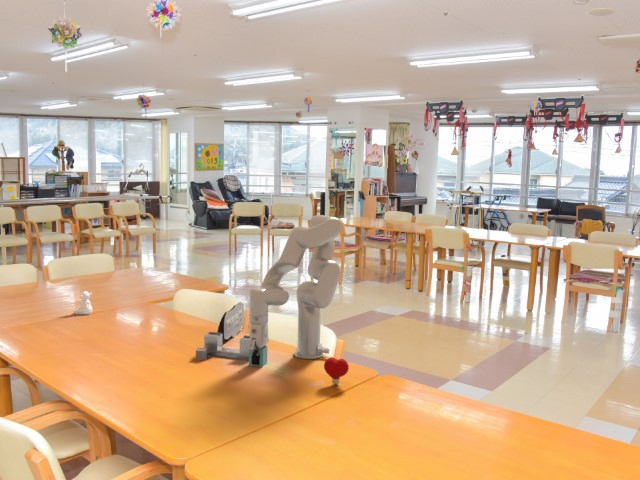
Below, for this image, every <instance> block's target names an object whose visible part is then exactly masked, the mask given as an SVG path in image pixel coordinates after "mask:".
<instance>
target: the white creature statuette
mask: <svg viewBox="0 0 640 480" xmlns="http://www.w3.org/2000/svg"><path fill="white" fill-rule="evenodd" d="M92 293H93V292H88V291H86V290H85V291H82V292H81V294H80V299H81V302H80V308H76V309H73V314H74V315H85V316H86V315H87V316H88V315H91V314H92V313H93V307H92V303H91V301H90V300H89V299H90V296H92Z"/></svg>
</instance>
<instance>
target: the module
mask: <svg viewBox="0 0 640 480" xmlns="http://www.w3.org/2000/svg"><path fill="white" fill-rule="evenodd" d="M255 347H257V346H255ZM250 349H251V347H250V348H249V360H248V366H251V367H258V366H259V368H263V366H264V365H265V366H266V365H267V364H268V346H267V344H266V345H265V346H264V347H263V348H261V349H259V355H260V364H259V365H252V355H251V351H250ZM255 350H256V351H257V349H255ZM265 366H264V367H265Z"/></svg>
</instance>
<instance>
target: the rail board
mask: <svg viewBox="0 0 640 480" xmlns="http://www.w3.org/2000/svg"><path fill="white" fill-rule="evenodd" d="M217 332H218V331H217ZM217 332H215V331H214V332H213V331H209V332H208V333H206V334H205V335H203V337H204V341H203V348H207V357H215V358H216V357H217V358H225V359H231V360H232V359H234V360H243V361H249V348H250V342H249V341H250V335H243V336H242V337H240V339H239V349H237V348H229V347H223V339H222V334H221V333H217Z"/></svg>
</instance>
